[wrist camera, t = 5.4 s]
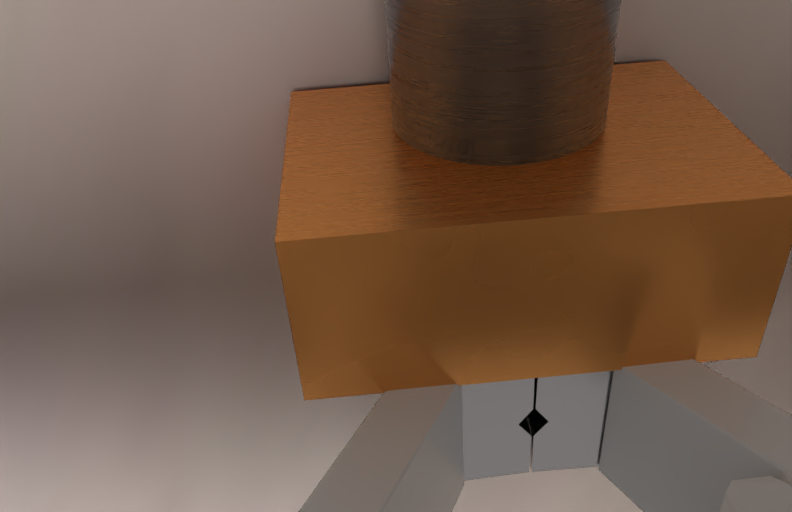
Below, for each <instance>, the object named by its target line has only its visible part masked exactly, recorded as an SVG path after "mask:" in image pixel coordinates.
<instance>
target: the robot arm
mask: <svg viewBox="0 0 792 512" xmlns="http://www.w3.org/2000/svg"><path fill="white" fill-rule="evenodd" d="M529 463H530V467H531V470H532V472H533V471H546V470H559V469H571V468H584V467H597V466H599V469H598V470H600V471H601V472H602V473H603V474H604V475H605V476H606V477H607V478H608V479H609V480H610V481H611V482H612V483H613V484H614V485H616V486H617V487H618V488H619V489H620V490H621V491H622V492H623V493H624V494H625V495H626V496H627V497H628V498H629V499H631V500H632V501H633V502H634V503H635V504H636V505H637V506H638V507H639V508H640V509H641V510H642V511H643V512H792V415H790V414H788V413H786V412H785V411H783V410H781V409H779V408H778V407H776V406H774V405H772V404H771V403H769V402H767V401H765V400H764V399H762V398H760V397H758V396H757V395H755V394H753V393H751V392H750V391H748V390H746V389H744V388H743V387H741V386H739V385H737V384H736V383H734V382H732V381H730V380H729V379H727V378H725V377H723V376H722V375H720V374H718V373H717V372H715V371H713V370H711V369H710V368H708V367H706V366H704V365H703V364H701V363H699V362H697V361H696V360H694V359H690V360H681V361H672V362H663V363H655V364H646V365H637V366H628V367H622V370H614V371H604V372H593V373H583V374H573V375H562V376H552V377H542V378H531V379H521V380H510V381H500V382H490V383H479V384H469V385H458V386H457V384H450V385H440V386H430V387H420V388H410V389H400V390H390V391H386V392H384V393H383V394H382V396H381V397H380V399H379V400H378V401H377V403H376V404H375V406H374V407H373V408H372V410H371V411H370V413H369V414H368V415H367V417H366V418H365V420H364V421H363V422H362V424H361V425H360V427H359V428H358V429H357V431H356V432H355V434H354V435H353V436H352V438H351V439H350V441H349V442H348V443H347V445H346V446H345V448H344V449H343V450H342V452H341V453H340V455H339V456H338V457H337V459H336V460H335V462H334V463H333V464H332V466H331V467H330V469H329V470H328V471H327V473H326V474H325V475H324V477H323V478H322V480H321V481H320V482H319V484H318V485H317V487H316V488H315V489H314V491H313V492H312V494H311V495H310V496H309V498H308V499H307V501H306V502H305V503H304V505H303V506H302V508H301V509H300V510H299V512H452V510H453V508H454V506H455V504H456V501H457V499H458V497H459V495H460V492H461V490H462V488H463V486H464V480H471V479H479V478H486V477H494V476H501V475H509V474H516V473H524V472H529Z"/></svg>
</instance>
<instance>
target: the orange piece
mask: <svg viewBox="0 0 792 512" xmlns="http://www.w3.org/2000/svg"><path fill="white" fill-rule="evenodd" d="M384 1H385V16H386V32H387V47H388V62H389V78H390V84H378V85H366V86H354V87H342V88H330V89H318V90H306V91H294V92H291V98H290V108H289V117H288V126H287V135H286V144H285V154H284V163H283V172H282V181H281V190H280V200H279V209H278V218H277V227H276V236H275V245H276V251H277V256H278V261H279V267H280V272H281V277H282V283H283V288H284V293H285V299H286V304H287V309H288V315H289V320H290V326H291V331H292V336H293V342H294V347H295V352H296V358H297V363H298V368H299V374H300V379H301V384H302V390H303V395H304V400H313V399H324V398H334V397H344V396H355V395H365V394H375V393H384V392H386V391H390V390H400V389H410V388H420V387H430V386H440V385H450V384H457V386H458V385H469V384H479V383H490V382H500V381H510V380H521V379H531V378H542V377H552V376H562V375H573V374H583V373H593V372H604V371H614V370H622V367H628V366H637V365H646V364H655V363H663V362H672V361H681V360H690V359H694V360H696V361H697V362H708V361H718V360H728V359H739V358H749V357H757V354H758V351H759V348H760V344H761V341H762V338H763V335H764V332H765V329H766V326H767V322H768V319H769V316H770V313H771V310H772V307H773V303H774V300H775V297H776V294H777V291H778V288H779V285H780V281H781V278H782V275H783V272H784V269H785V266H786V263H787V259H788V256H789V253H790V250H791V247H792V178H790V177H789V176H788V175H787V174H786V173H785V172H784V171H783V170H782V169H781V168H780V167H779V166H778V165H776V164H775V163H774V162H773V161H772V160H771V159H770V158H769V157H768V156H767V155H766V154H765V153H764V152H763V151H761V150H760V149H759V148H758V147H757V146H756V145H755V144H754V143H753V142H752V141H751V140H750V139H749V138H748V137H746V136H745V135H744V134H743V133H742V132H741V131H740V130H739V129H738V128H737V127H736V126H735V125H734V124H732V123H731V122H730V121H729V120H728V119H727V118H726V117H725V116H724V115H723V114H722V113H721V112H720V111H719V110H717V109H716V108H715V107H714V106H713V105H712V104H711V103H710V102H709V101H708V100H707V99H706V98H705V97H704V96H702V95H701V94H700V93H699V92H698V91H697V90H696V89H695V88H694V87H693V86H692V85H691V84H690V83H688V82H687V81H686V80H685V79H684V78H683V77H682V76H681V75H680V74H679V73H678V72H677V71H676V70H675V69H673V68H672V67H671V66H670V65H669V64H668V63H667V62H666V61H665V60H664V61H652V62H640V63H629V64H617V65H613V63H614V55H615V46H616V38H617V30H618V22H619V14H620V5H621V0H384Z"/></svg>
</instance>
